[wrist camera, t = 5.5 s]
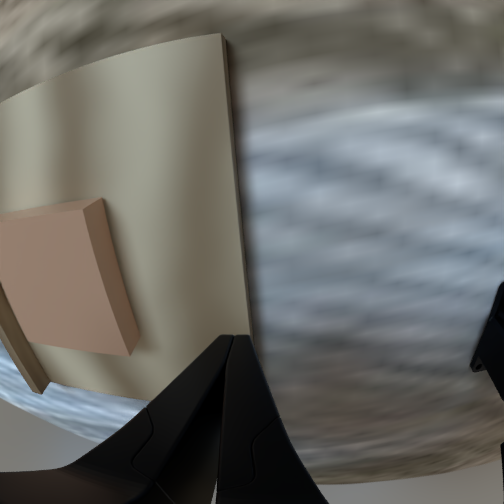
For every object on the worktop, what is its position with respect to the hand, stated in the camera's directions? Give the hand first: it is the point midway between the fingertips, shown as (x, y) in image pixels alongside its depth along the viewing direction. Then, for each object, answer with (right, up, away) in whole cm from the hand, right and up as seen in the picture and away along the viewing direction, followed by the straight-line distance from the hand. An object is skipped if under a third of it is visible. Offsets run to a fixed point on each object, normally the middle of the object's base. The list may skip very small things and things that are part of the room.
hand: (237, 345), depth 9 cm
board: (-7, +2, +6) cm, 9 cm away
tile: (-5, +1, +4) cm, 7 cm away
